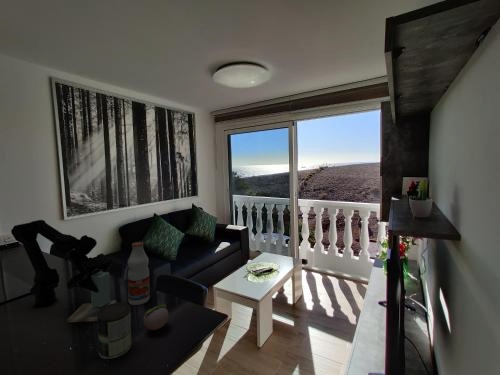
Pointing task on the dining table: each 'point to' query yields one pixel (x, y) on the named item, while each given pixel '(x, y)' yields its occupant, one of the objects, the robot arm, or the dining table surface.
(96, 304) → the pillar
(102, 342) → the coffee can
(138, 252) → the fruit juice
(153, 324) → the decorative fruit
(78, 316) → the board
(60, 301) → the dining table surface
